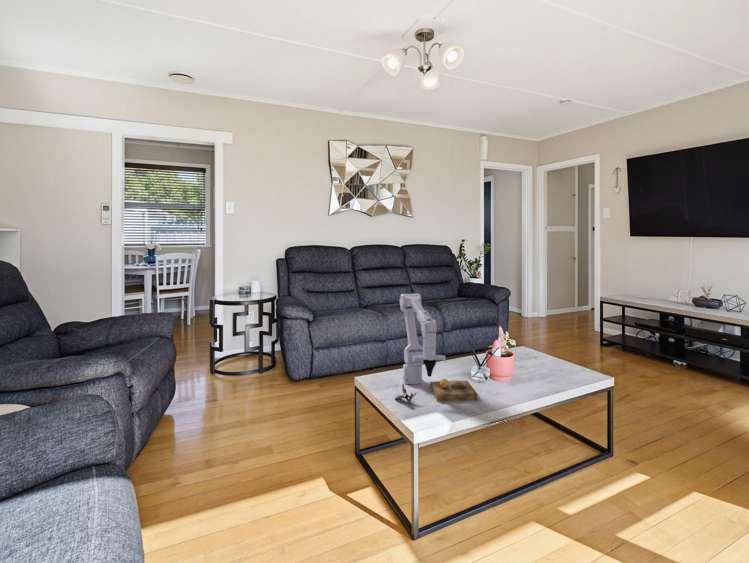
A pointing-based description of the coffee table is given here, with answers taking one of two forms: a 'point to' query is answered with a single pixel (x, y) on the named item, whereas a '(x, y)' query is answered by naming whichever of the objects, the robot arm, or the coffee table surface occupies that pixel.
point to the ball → (444, 383)
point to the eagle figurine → (405, 395)
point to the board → (453, 391)
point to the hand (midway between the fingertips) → (429, 375)
